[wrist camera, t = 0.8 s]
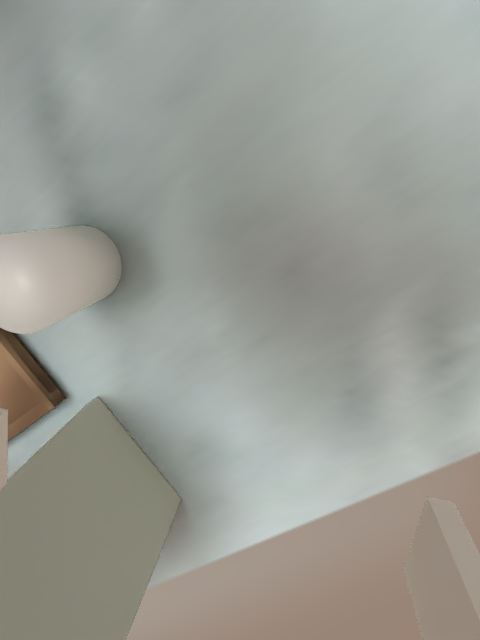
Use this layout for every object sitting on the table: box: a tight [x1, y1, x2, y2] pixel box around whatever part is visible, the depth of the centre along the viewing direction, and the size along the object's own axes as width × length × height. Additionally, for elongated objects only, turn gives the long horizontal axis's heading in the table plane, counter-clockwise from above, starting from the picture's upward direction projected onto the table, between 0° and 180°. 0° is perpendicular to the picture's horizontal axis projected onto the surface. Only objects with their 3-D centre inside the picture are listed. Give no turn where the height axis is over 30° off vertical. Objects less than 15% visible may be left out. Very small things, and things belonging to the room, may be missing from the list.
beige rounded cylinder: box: [0, 225, 122, 334], centre depth 31 cm, size 6×6×9 cm
